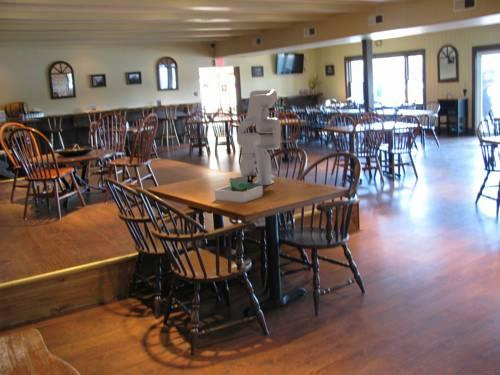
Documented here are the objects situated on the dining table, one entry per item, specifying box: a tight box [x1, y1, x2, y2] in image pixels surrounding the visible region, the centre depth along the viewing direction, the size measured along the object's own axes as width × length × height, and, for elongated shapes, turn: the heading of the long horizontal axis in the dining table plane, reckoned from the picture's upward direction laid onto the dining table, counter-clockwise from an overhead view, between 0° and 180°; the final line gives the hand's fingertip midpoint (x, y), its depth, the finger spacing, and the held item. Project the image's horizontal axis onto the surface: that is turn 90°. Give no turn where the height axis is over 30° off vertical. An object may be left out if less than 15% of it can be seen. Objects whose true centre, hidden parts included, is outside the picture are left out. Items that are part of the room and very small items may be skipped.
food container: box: [228, 175, 248, 192], centre depth 295 cm, size 12×6×10 cm, turn 133°
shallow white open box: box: [214, 184, 263, 204], centre depth 295 cm, size 19×20×6 cm
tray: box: [226, 182, 264, 195], centre depth 296 cm, size 18×20×6 cm
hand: (250, 186), depth 305 cm, fingers closed
